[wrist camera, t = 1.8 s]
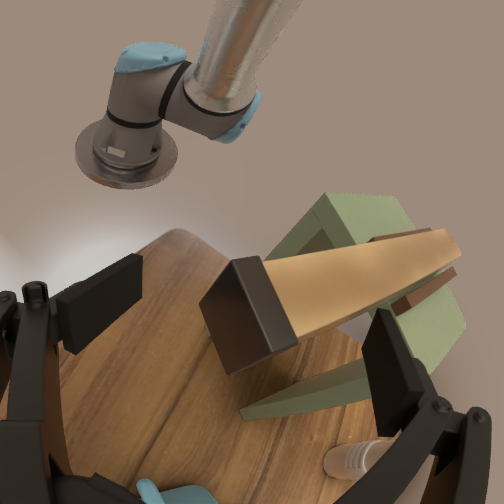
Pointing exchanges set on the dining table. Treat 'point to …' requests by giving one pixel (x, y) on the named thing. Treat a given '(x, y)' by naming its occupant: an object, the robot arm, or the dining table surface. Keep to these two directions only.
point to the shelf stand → (401, 307)
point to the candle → (354, 458)
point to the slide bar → (312, 293)
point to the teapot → (174, 494)
